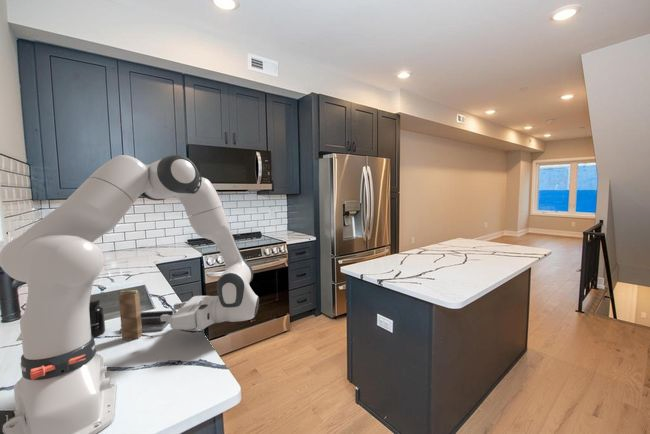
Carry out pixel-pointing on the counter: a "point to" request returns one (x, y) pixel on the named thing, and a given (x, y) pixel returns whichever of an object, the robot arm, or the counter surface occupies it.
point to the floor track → (153, 321)
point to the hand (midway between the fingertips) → (168, 311)
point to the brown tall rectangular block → (130, 314)
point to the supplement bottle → (96, 318)
